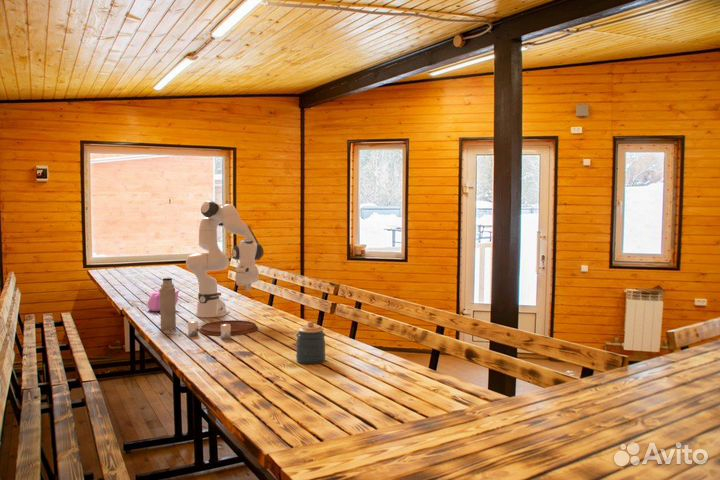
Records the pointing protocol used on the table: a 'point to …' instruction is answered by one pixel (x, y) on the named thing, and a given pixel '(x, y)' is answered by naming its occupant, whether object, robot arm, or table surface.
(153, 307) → the teapot
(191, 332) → the bench dogs
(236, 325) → the cutting board
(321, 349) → the canister
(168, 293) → the thermos bottle
